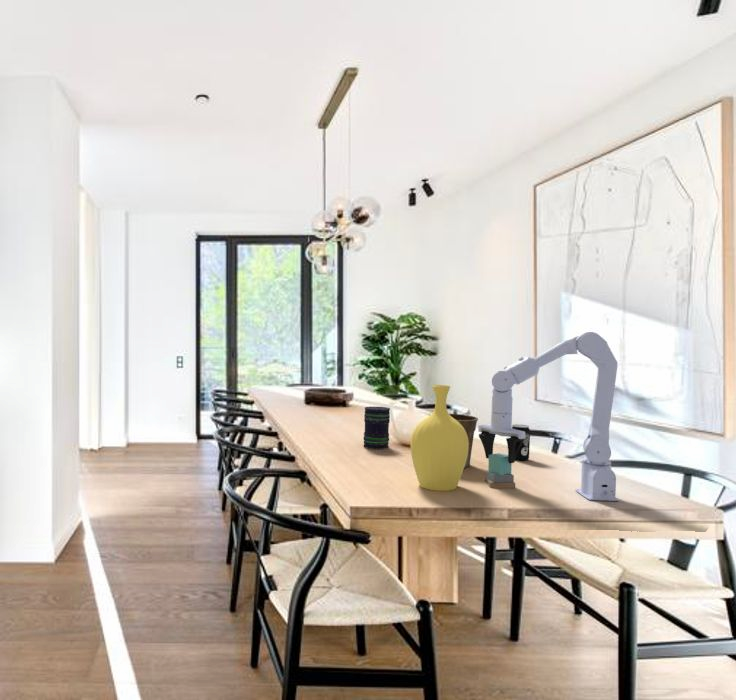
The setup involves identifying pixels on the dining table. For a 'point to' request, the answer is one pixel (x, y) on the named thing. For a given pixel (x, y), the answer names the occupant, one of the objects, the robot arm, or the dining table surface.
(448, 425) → the vase
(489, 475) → the grey slab
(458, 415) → the plant pot
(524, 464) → the dining table surface
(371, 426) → the storage jar
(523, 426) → the beverage can
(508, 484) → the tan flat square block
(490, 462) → the teal block
